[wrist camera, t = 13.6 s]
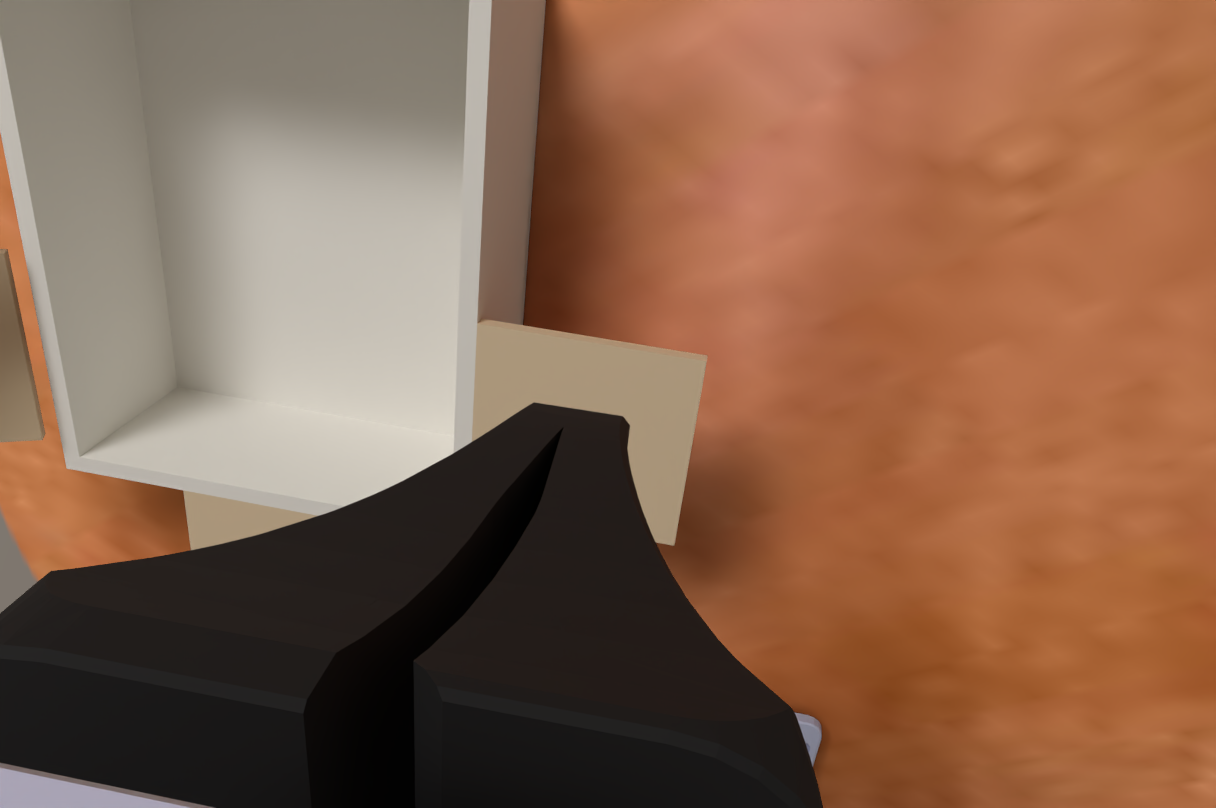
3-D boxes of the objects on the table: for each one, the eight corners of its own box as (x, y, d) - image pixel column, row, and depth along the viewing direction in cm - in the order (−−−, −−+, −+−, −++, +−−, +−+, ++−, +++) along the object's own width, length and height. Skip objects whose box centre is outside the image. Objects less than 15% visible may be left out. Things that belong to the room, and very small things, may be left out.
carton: (660, 613, 26) (642, 724, 22) (188, 523, 27) (95, 613, 23) (768, -4, 18) (769, 4, 15) (110, -86, 20) (-46, -99, 16)
